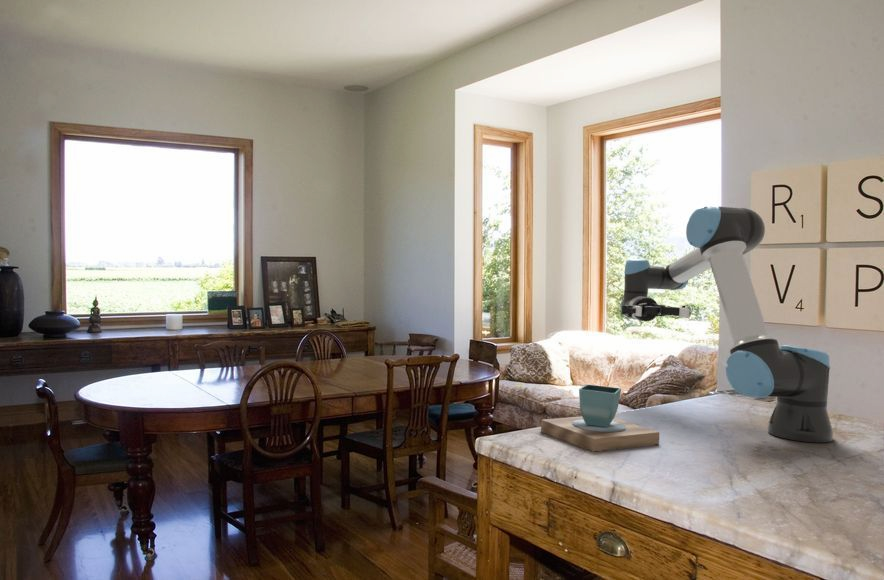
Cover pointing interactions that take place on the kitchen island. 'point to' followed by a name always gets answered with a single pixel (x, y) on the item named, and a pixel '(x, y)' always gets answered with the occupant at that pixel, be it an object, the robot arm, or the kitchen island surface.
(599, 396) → the flower pot
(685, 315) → the robot arm
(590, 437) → the walnut plinth
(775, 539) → the kitchen island surface
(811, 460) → the kitchen island surface
